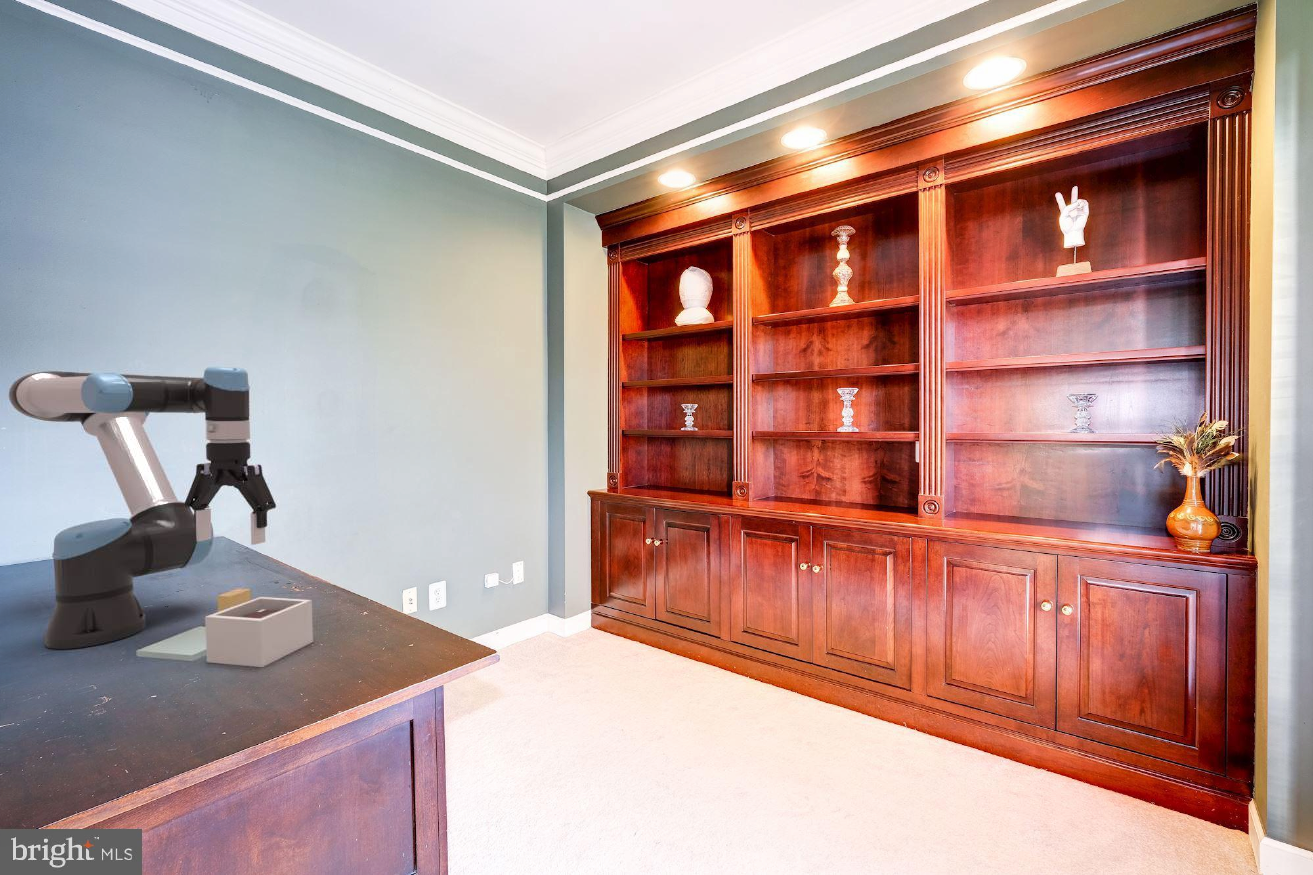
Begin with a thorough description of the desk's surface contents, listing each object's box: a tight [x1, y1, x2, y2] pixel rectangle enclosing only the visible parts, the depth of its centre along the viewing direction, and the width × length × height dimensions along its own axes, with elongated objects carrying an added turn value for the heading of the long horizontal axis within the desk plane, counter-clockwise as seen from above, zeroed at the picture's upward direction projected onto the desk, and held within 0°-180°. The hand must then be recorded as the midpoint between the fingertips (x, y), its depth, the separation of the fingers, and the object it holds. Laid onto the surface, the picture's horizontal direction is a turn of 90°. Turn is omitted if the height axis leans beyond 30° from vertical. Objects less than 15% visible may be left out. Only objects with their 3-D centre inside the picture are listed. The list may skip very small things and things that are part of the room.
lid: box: [135, 588, 252, 662], centre depth 119 cm, size 13×18×8 cm
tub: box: [204, 596, 314, 668], centre depth 113 cm, size 12×12×8 cm
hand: (230, 541), depth 124 cm, fingers open, 13 cm apart
